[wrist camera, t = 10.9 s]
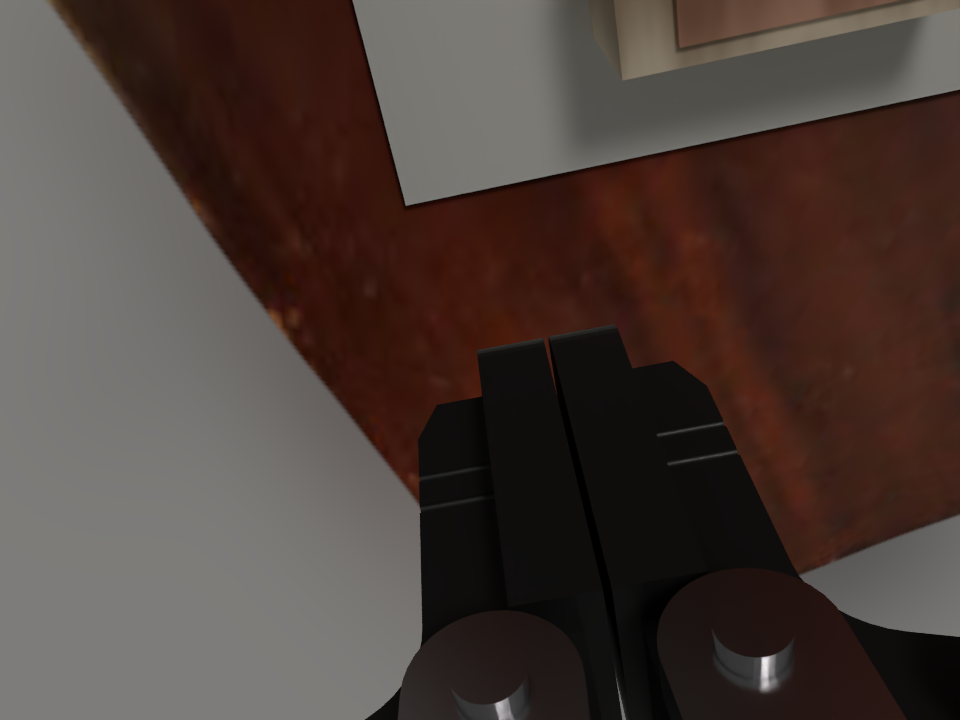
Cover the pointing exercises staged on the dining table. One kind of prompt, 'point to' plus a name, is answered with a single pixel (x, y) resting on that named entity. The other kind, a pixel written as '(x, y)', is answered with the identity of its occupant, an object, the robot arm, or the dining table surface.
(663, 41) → the maple block
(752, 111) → the grey mat
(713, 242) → the dining table surface
